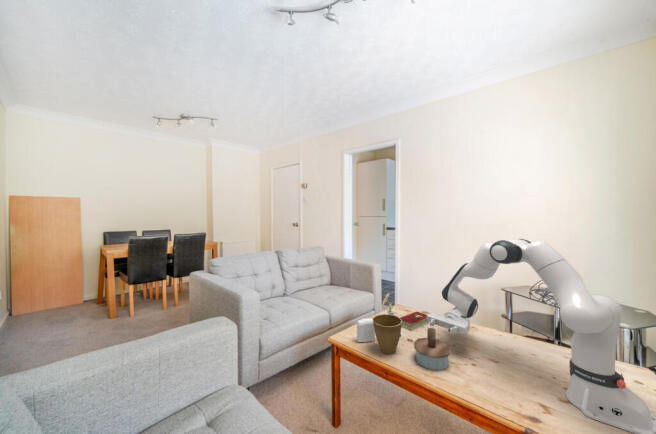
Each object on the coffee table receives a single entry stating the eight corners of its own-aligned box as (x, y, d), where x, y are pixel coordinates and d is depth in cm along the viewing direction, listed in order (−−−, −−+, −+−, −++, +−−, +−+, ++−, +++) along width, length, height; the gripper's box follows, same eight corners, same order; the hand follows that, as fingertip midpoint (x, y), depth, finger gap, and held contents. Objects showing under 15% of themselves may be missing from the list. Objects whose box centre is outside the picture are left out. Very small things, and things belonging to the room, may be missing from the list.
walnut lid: (454, 347, 121) (454, 328, 121) (444, 362, 109) (444, 341, 109) (421, 337, 132) (420, 319, 131) (408, 350, 119) (408, 331, 119)
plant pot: (386, 340, 141) (385, 311, 141) (408, 351, 129) (407, 320, 129) (367, 348, 132) (366, 318, 132) (389, 362, 120) (388, 329, 120)
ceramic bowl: (453, 361, 119) (453, 349, 119) (439, 374, 111) (438, 360, 110) (425, 349, 130) (425, 338, 130) (410, 360, 121) (410, 348, 121)
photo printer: (373, 337, 144) (372, 316, 144) (376, 341, 140) (375, 319, 140) (356, 340, 142) (355, 318, 142) (358, 343, 138) (358, 321, 137)
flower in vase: (386, 327, 156) (385, 287, 155) (404, 332, 149) (403, 291, 149) (377, 336, 145) (376, 293, 145) (396, 342, 139) (395, 297, 138)
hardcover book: (396, 324, 161) (395, 318, 161) (416, 316, 173) (416, 310, 172) (411, 332, 151) (411, 325, 151) (432, 322, 163) (432, 316, 163)
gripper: (433, 308, 142) (420, 315, 134) (472, 319, 127) (461, 328, 118) (433, 319, 143) (421, 326, 134) (472, 331, 127) (461, 341, 118)
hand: (440, 327), depth 126 cm, fingers open, 8 cm apart
